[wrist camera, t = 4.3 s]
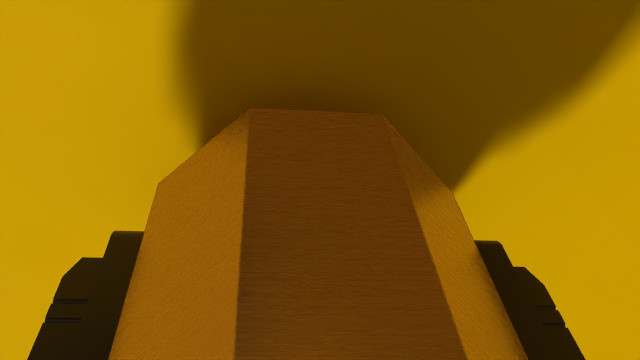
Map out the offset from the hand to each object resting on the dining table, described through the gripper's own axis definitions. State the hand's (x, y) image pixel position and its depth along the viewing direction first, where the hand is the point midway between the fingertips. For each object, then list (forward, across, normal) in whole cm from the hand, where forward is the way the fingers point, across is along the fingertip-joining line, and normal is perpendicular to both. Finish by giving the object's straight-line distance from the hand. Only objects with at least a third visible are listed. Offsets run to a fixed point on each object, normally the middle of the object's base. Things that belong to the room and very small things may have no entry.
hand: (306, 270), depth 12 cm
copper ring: (+1, 0, 0) cm, 1 cm away
